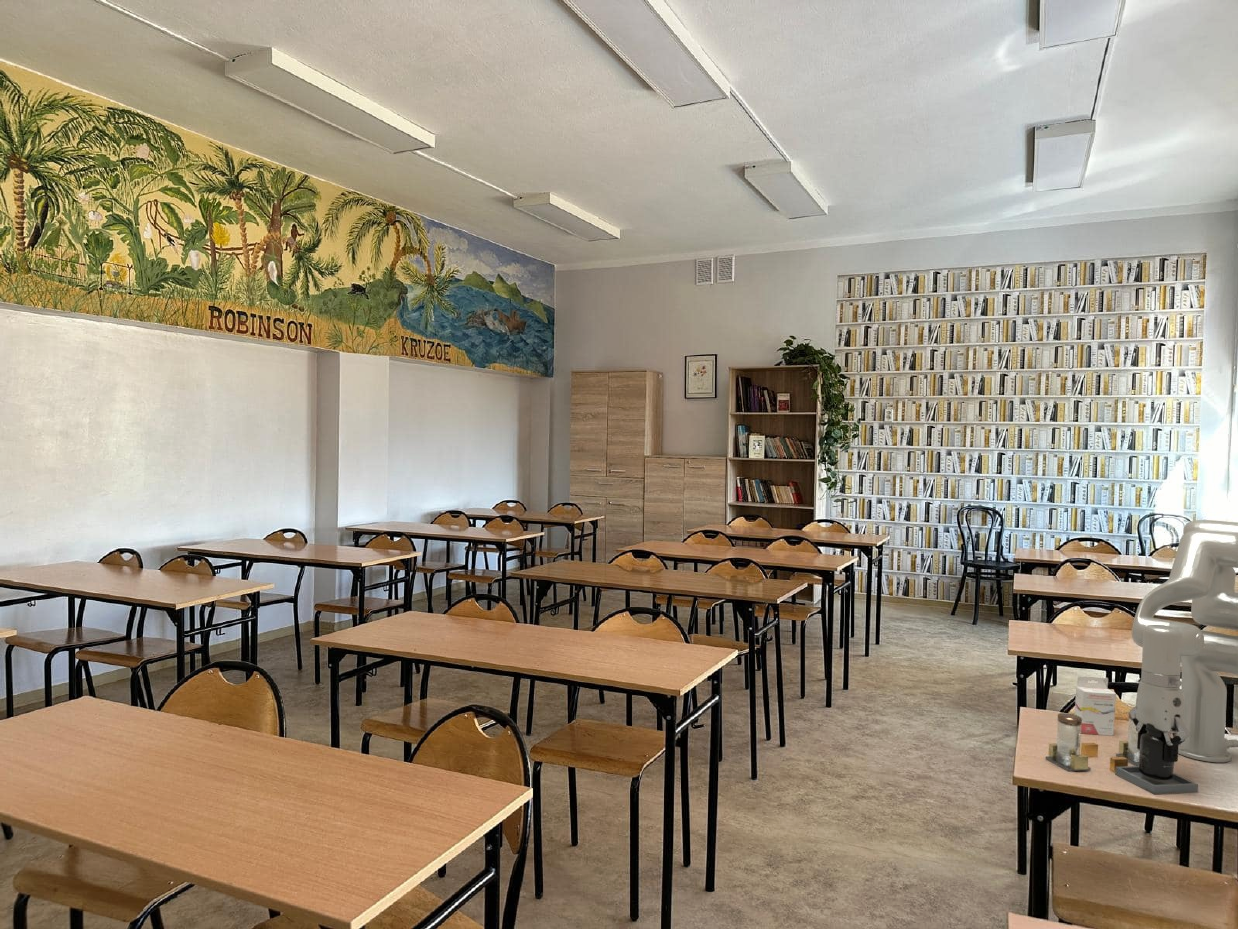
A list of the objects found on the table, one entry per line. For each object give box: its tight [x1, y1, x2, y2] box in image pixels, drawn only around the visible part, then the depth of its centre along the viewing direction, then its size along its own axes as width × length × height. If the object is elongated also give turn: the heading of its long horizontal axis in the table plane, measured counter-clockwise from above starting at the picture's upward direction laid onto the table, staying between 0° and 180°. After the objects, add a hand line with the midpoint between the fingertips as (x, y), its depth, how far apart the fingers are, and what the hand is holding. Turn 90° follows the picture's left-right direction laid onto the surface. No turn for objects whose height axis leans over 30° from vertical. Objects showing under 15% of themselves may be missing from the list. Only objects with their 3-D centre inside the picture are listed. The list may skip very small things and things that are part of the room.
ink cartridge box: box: [1074, 675, 1117, 736], centre depth 228 cm, size 9×5×15 cm, turn 84°
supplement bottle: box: [1139, 723, 1175, 780], centre depth 193 cm, size 7×7×12 cm
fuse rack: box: [1045, 712, 1140, 773], centre depth 204 cm, size 26×11×12 cm, turn 100°
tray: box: [1114, 765, 1199, 795], centre depth 193 cm, size 11×11×2 cm
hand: (1157, 754), depth 193 cm, fingers closed on supplement bottle, 6 cm apart
